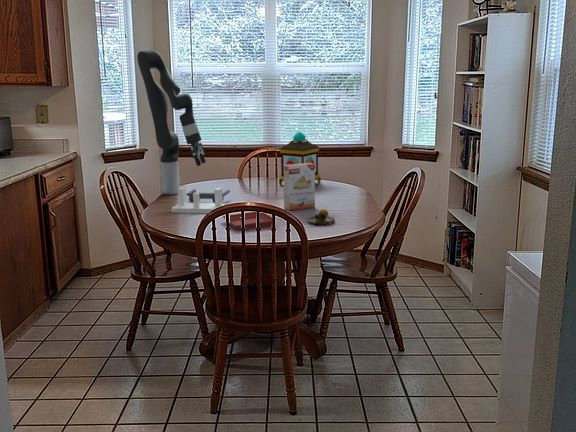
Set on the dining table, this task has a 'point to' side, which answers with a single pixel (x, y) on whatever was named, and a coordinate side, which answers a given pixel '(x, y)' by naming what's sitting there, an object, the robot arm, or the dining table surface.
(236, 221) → the plant saucer
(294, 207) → the cracker box
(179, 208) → the display stand
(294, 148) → the decorative lantern
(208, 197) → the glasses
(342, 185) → the dining table surface
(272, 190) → the dining table surface
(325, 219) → the small succulent plant
